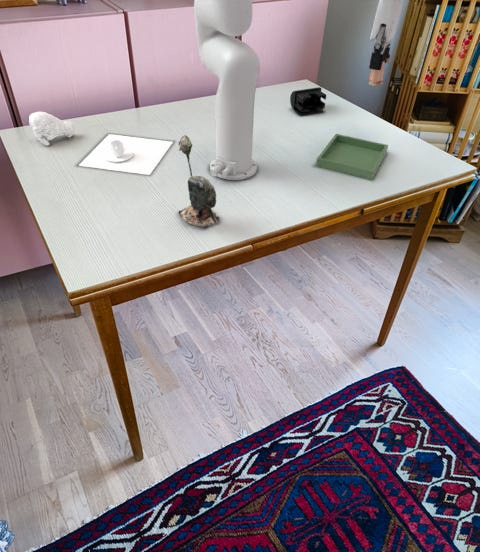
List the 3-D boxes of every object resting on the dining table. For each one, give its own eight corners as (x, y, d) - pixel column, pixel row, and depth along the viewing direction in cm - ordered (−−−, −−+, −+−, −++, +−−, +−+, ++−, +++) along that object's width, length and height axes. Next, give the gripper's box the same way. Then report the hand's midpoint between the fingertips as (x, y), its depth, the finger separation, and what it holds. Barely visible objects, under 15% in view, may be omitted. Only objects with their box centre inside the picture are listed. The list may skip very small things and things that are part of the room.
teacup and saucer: (112, 147, 132) (109, 133, 129) (138, 150, 131) (136, 136, 128) (98, 161, 125) (96, 147, 123) (126, 165, 124) (124, 150, 121)
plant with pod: (194, 238, 101) (190, 153, 87) (175, 211, 108) (169, 130, 95) (227, 228, 104) (228, 145, 90) (207, 203, 111) (205, 123, 98)
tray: (372, 179, 122) (374, 171, 120) (315, 166, 127) (317, 158, 125) (386, 152, 134) (388, 145, 132) (334, 141, 139) (335, 133, 137)
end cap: (314, 104, 160) (316, 84, 155) (325, 112, 155) (328, 91, 151) (288, 108, 157) (290, 88, 152) (299, 116, 152) (301, 95, 147)
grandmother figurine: (376, 79, 133) (386, 31, 125) (387, 83, 131) (398, 33, 123) (360, 85, 129) (369, 35, 121) (372, 88, 127) (382, 38, 119)
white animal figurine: (25, 109, 128) (69, 105, 134) (30, 139, 134) (72, 134, 139) (30, 117, 124) (75, 113, 130) (36, 147, 130) (79, 142, 135)
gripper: (386, -18, 122) (371, 55, 134) (370, -6, 110) (356, 72, 122) (415, -14, 120) (397, 59, 132) (402, -3, 108) (384, 77, 120)
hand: (378, 65), depth 127 cm, fingers closed on grandmother figurine, 6 cm apart
